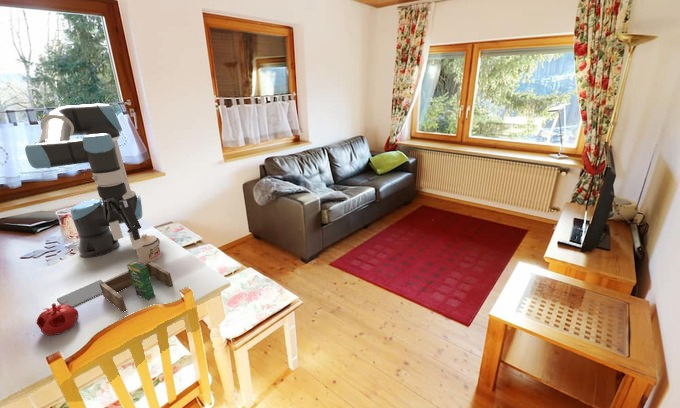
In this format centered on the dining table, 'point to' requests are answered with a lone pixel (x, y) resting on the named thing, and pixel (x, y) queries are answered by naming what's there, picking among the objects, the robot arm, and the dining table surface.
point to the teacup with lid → (149, 249)
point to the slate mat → (81, 294)
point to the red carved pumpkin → (57, 319)
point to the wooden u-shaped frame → (125, 281)
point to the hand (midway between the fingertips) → (128, 243)
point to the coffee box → (141, 280)
